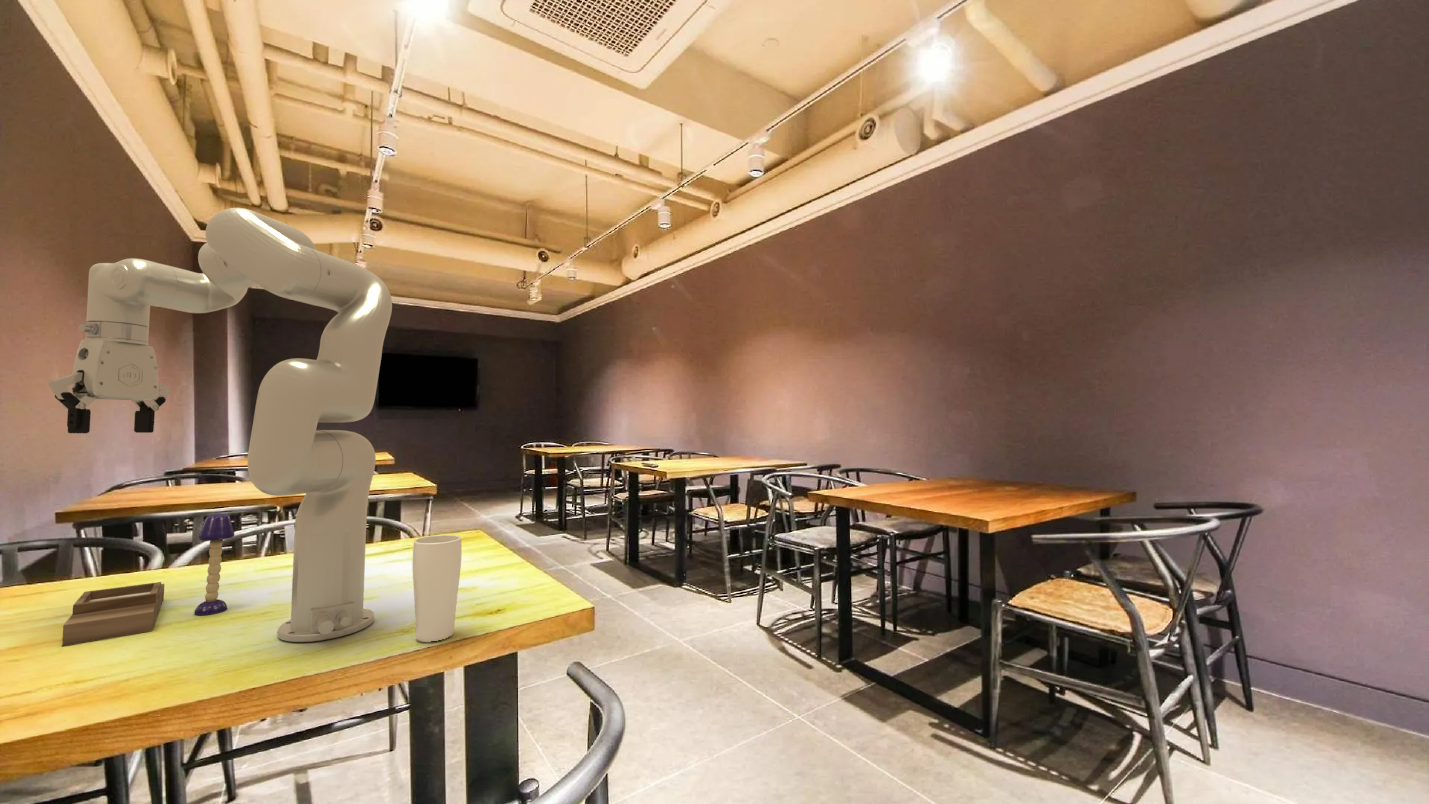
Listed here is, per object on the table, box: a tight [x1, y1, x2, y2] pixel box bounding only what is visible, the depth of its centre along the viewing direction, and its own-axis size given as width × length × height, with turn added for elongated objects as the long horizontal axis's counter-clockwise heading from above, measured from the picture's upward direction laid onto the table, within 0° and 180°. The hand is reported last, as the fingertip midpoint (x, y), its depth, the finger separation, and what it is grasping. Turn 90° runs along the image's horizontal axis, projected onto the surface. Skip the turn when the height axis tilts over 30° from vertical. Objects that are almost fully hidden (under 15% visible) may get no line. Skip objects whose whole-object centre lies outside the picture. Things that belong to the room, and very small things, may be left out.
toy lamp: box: [194, 513, 235, 616], centre depth 95 cm, size 5×5×17 cm
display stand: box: [61, 581, 165, 647], centre depth 91 cm, size 20×9×4 cm, turn 42°
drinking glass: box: [412, 534, 462, 643], centre depth 85 cm, size 7×7×15 cm
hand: (112, 432), depth 96 cm, fingers open, 9 cm apart
